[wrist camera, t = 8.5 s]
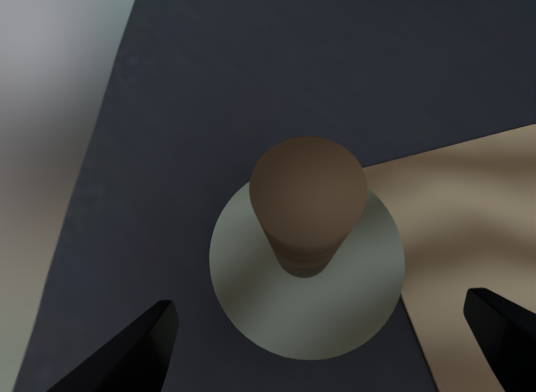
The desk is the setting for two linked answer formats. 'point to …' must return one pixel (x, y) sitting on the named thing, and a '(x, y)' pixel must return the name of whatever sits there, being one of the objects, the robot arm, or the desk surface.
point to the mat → (462, 242)
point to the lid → (307, 253)
